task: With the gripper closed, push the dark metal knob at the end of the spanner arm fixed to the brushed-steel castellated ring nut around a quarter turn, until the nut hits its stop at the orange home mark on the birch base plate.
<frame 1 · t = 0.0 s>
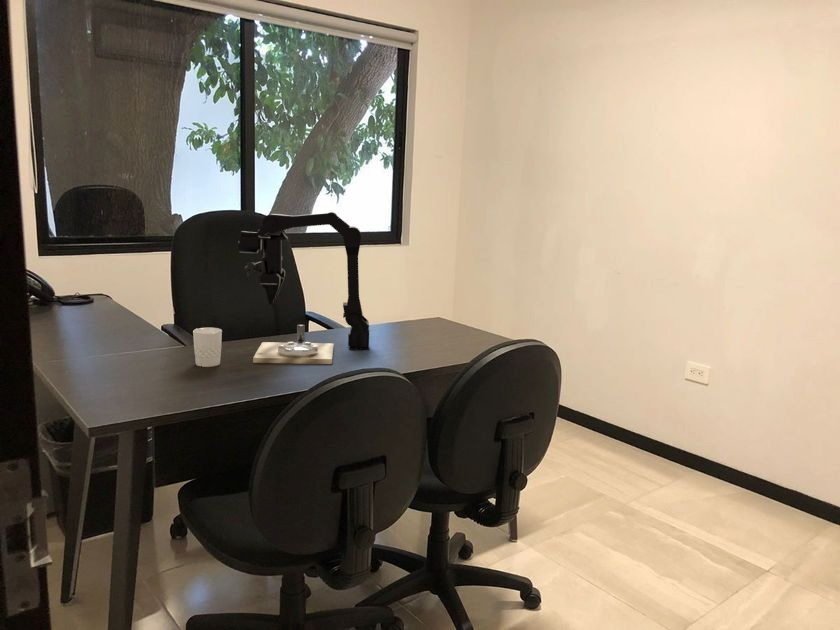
hand: (272, 302, 209), 15 cm above the table, fingers open, 9 cm apart
white cup: (208, 364, 187), on the table
base plate: (295, 354, 201), on the table
ring nut: (298, 340, 201), point 5 cm above the table, hinge at 0.0°
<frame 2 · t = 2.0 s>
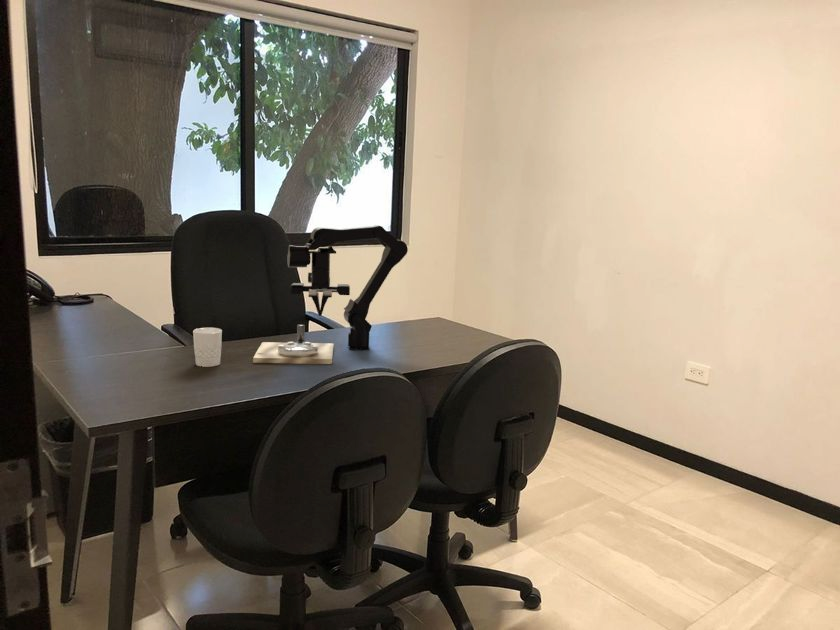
hand: (320, 315, 208), 11 cm above the table, fingers closed
nothing on the table moved.
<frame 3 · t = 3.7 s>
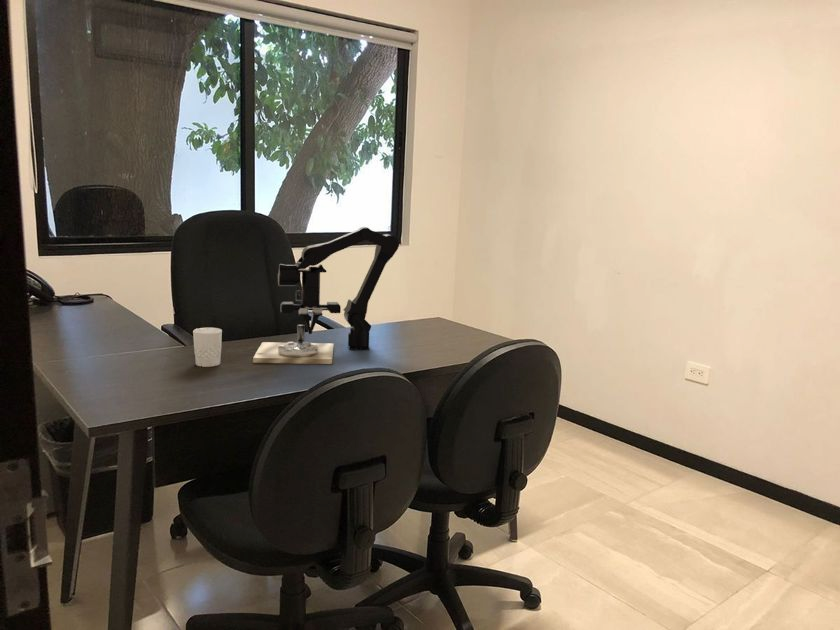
hand: (310, 333, 209), 5 cm above the table, fingers closed
ring nut: (298, 340, 201), point 5 cm above the table, hinge at 0.0°, touching gripper
everything else where it was.
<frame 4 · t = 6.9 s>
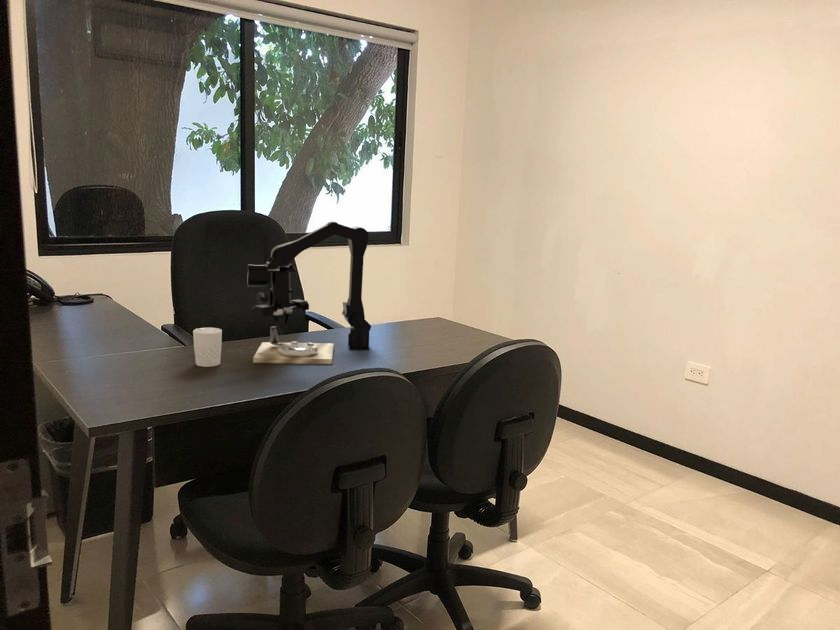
hand: (281, 334, 206), 5 cm above the table, fingers closed
ring nut: (291, 340, 200), point 5 cm above the table, hinge at 47.2°, touching gripper
everything else where it was.
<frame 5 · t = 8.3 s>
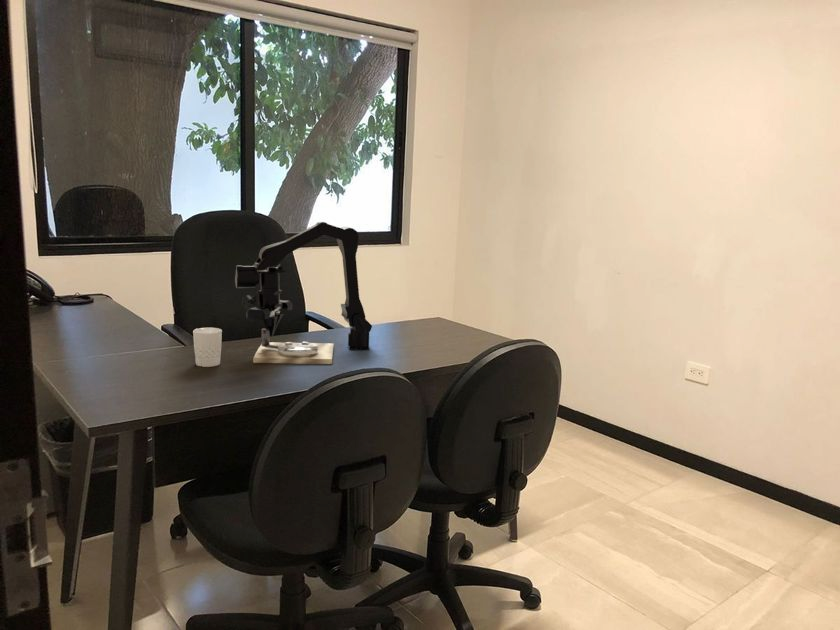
hand: (270, 336, 203), 5 cm above the table, fingers closed
ring nut: (288, 341, 199), point 5 cm above the table, hinge at 69.4°, touching gripper
everything else where it was.
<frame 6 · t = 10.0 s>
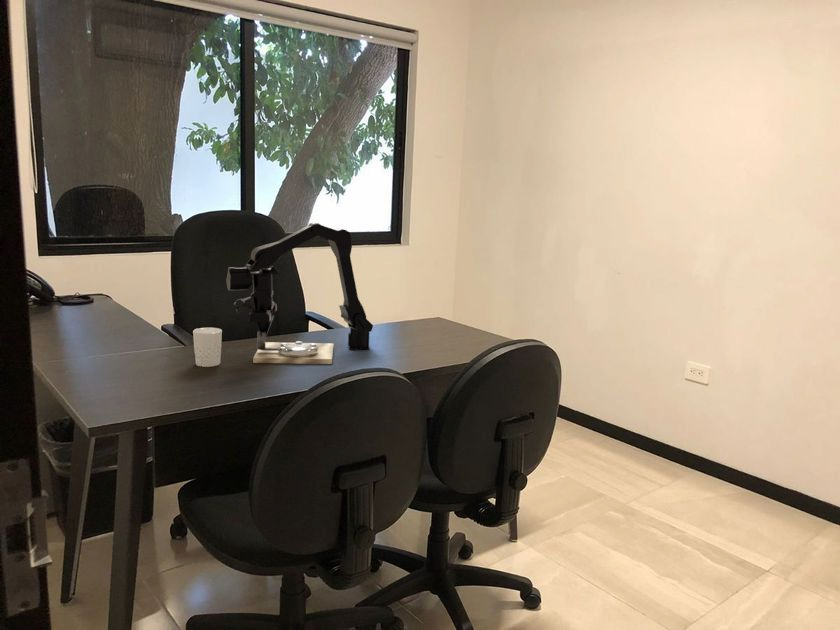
hand: (263, 338, 199), 5 cm above the table, fingers closed
ring nut: (287, 342, 197), point 5 cm above the table, hinge at 91.5°, touching gripper
everything else where it was.
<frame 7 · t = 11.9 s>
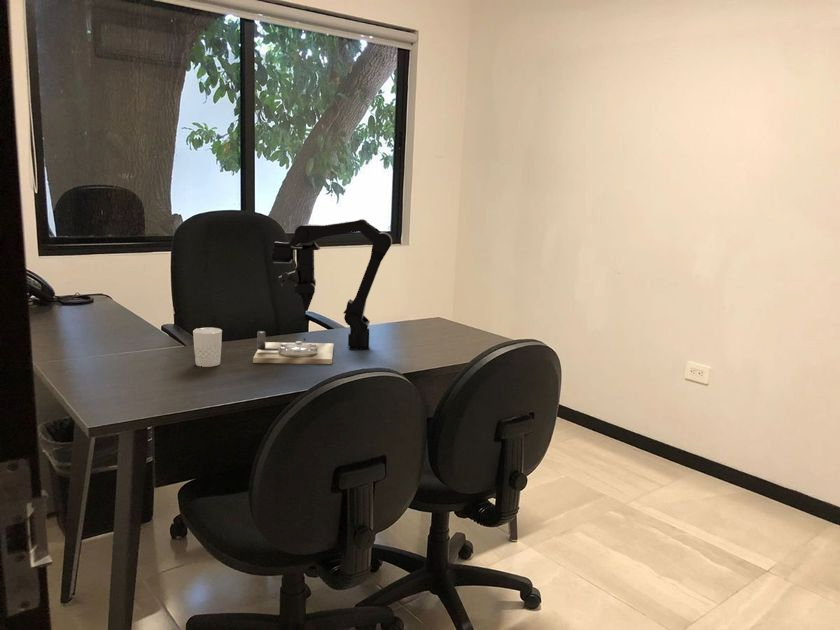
hand: (305, 310, 212), 12 cm above the table, fingers closed
ring nut: (287, 342, 197), point 5 cm above the table, hinge at 91.6°
everything else where it was.
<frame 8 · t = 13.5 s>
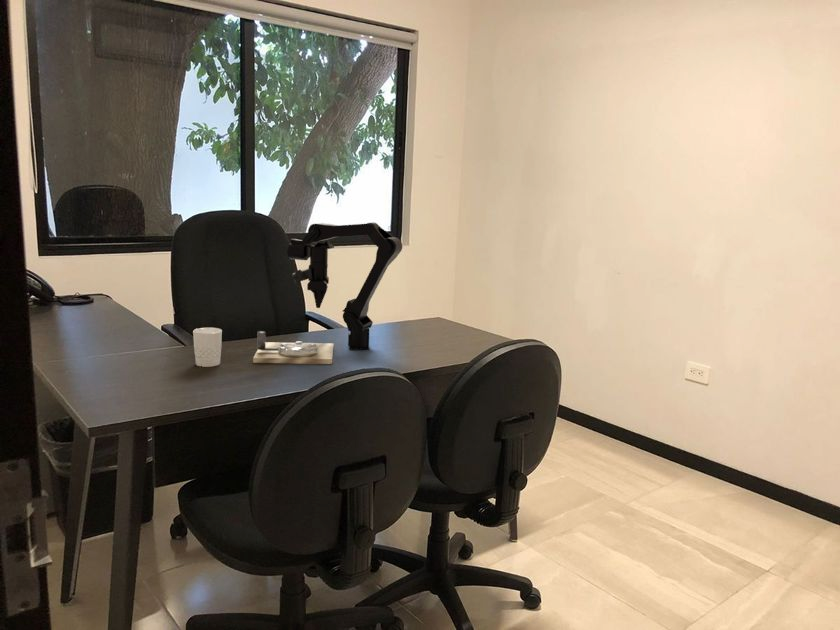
hand: (318, 307, 217), 12 cm above the table, fingers closed
nothing on the table moved.
at the end: ring nut at +92° (first picture: +0°); white cup moved 0.2 cm from its start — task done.
